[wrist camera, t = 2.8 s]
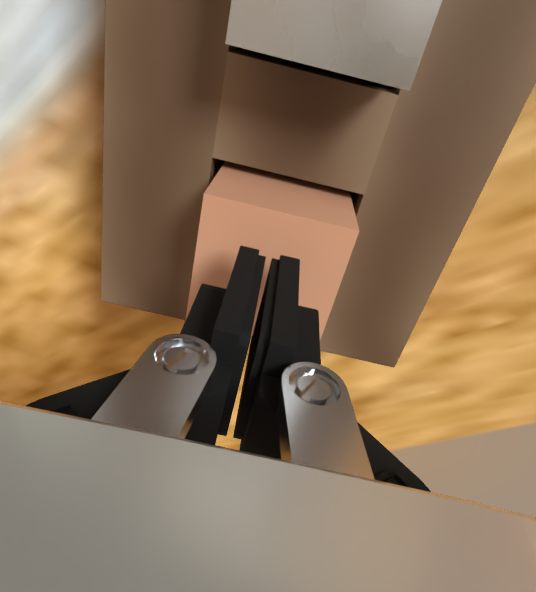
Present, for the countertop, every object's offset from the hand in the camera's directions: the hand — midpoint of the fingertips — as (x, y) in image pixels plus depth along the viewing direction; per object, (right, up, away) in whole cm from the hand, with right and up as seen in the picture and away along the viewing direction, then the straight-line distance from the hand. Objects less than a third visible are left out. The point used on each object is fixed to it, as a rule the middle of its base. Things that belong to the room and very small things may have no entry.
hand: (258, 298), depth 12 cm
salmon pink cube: (0, +3, +4) cm, 5 cm away
